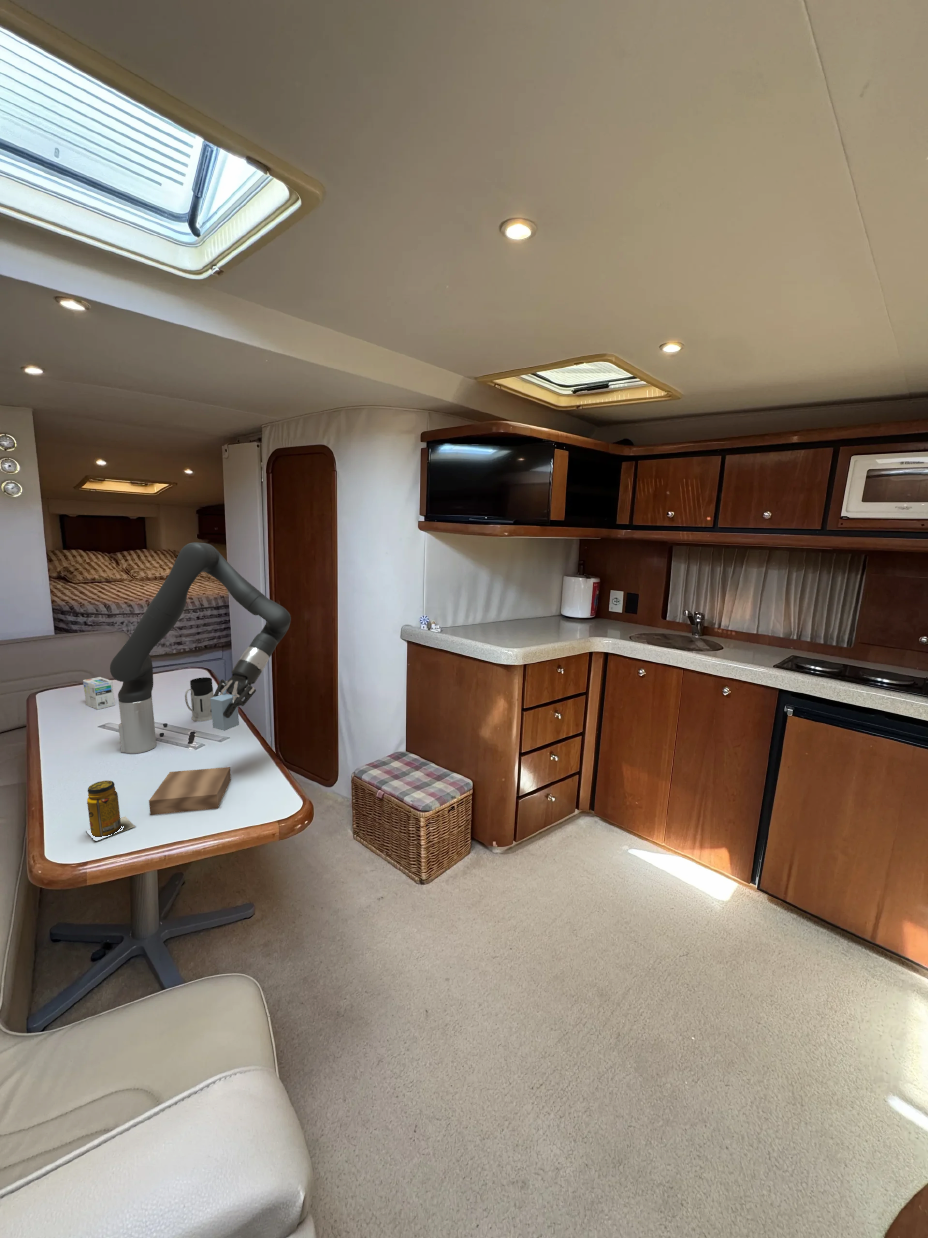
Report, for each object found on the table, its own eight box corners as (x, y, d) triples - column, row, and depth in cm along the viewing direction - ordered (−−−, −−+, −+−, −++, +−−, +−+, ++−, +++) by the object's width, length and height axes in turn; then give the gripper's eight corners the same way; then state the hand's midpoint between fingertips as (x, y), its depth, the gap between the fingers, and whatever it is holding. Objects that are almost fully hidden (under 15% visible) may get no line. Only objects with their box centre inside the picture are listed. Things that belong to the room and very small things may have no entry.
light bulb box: (115, 705, 210) (112, 680, 209) (97, 710, 205) (94, 684, 203) (103, 700, 216) (100, 676, 214) (85, 705, 210) (82, 679, 209)
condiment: (85, 831, 124) (79, 785, 122) (125, 816, 130) (120, 773, 128) (94, 843, 119) (88, 795, 117) (135, 827, 126) (130, 782, 123)
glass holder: (221, 713, 202) (218, 677, 200) (199, 727, 189) (196, 688, 186) (200, 712, 203) (197, 676, 201) (176, 726, 189) (173, 687, 187)
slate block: (224, 731, 147) (221, 701, 145) (213, 727, 149) (210, 698, 148) (239, 725, 151) (236, 696, 150) (228, 722, 154) (225, 693, 152)
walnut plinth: (150, 815, 131) (148, 800, 130) (171, 785, 146) (169, 771, 146) (217, 808, 134) (216, 794, 134) (231, 779, 150) (230, 767, 149)
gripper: (227, 655, 157) (194, 705, 148) (259, 661, 150) (226, 713, 142) (243, 668, 162) (212, 716, 154) (275, 674, 155) (244, 725, 147)
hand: (219, 714), depth 148 cm, fingers closed on slate block, 5 cm apart
